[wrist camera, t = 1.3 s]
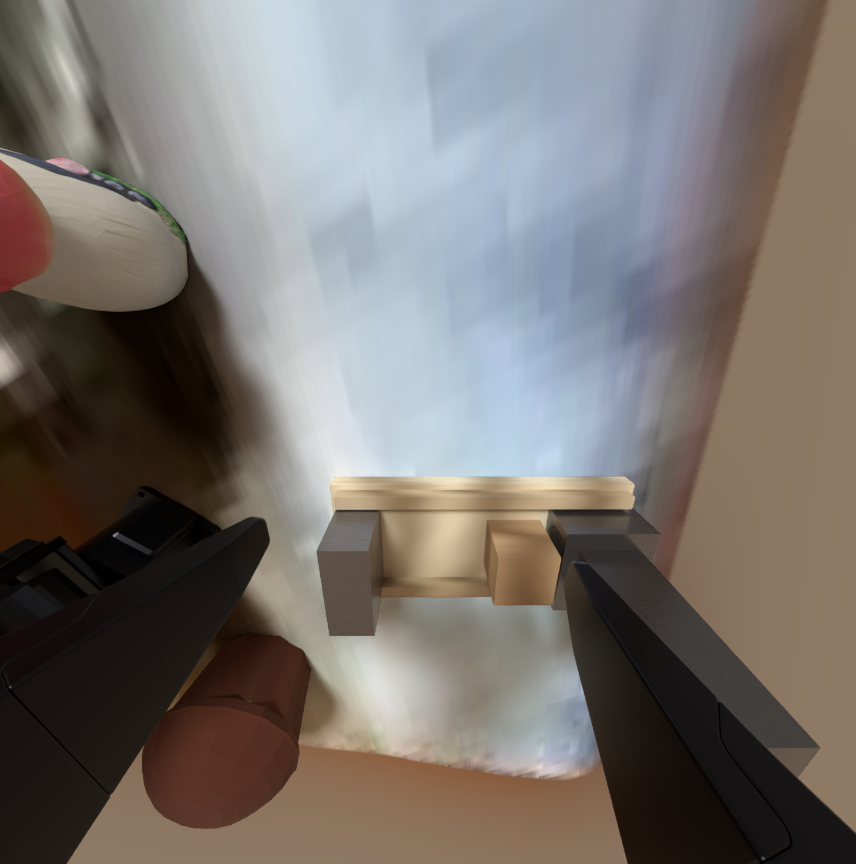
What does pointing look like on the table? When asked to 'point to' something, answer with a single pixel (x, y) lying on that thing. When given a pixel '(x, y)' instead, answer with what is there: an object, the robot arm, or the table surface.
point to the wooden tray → (460, 521)
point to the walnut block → (520, 562)
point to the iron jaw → (352, 572)
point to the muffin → (229, 735)
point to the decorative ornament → (85, 237)
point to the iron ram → (673, 620)
